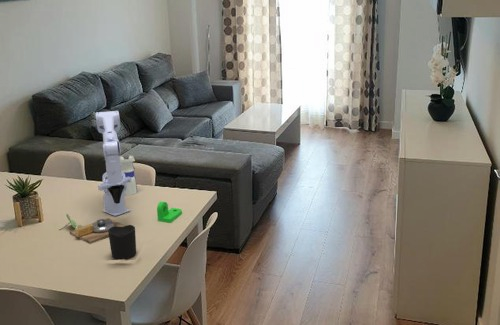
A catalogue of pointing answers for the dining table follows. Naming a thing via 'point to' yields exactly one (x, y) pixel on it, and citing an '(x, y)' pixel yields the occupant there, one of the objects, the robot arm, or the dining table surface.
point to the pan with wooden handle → (94, 227)
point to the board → (95, 236)
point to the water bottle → (129, 173)
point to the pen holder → (122, 242)
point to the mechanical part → (167, 213)
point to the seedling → (71, 222)
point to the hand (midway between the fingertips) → (117, 202)
